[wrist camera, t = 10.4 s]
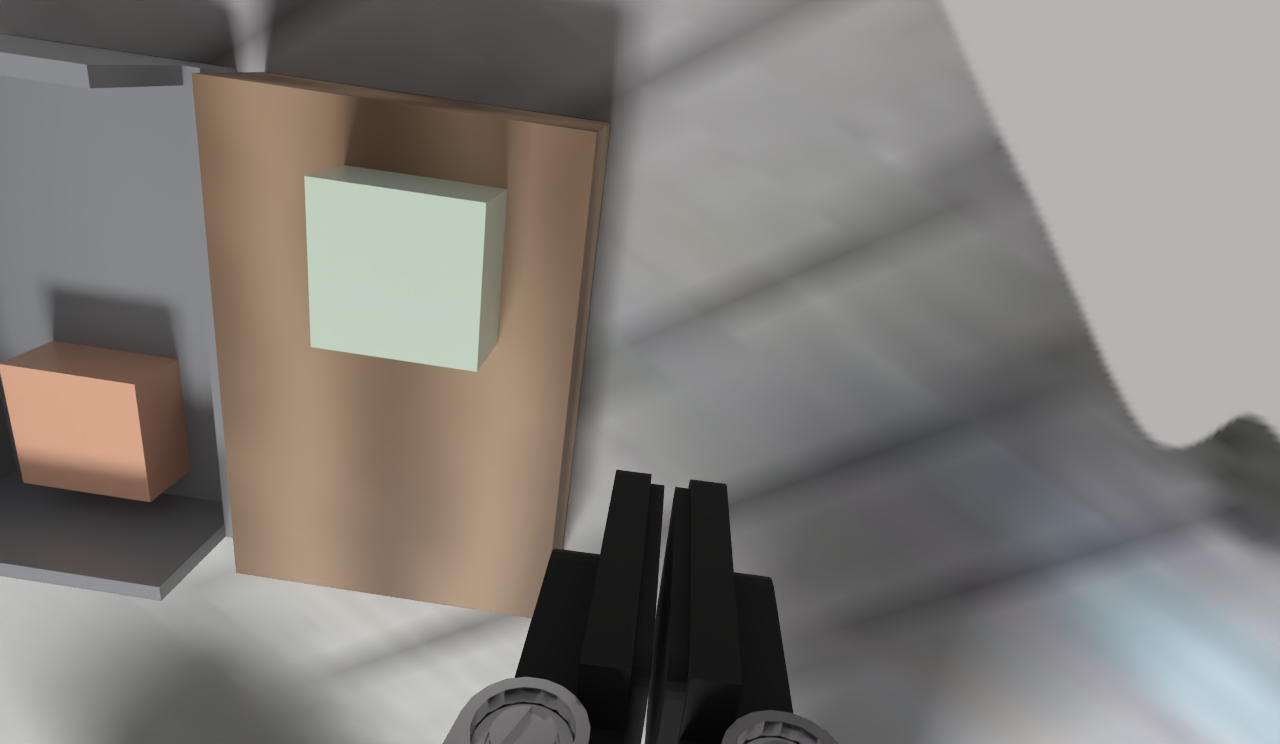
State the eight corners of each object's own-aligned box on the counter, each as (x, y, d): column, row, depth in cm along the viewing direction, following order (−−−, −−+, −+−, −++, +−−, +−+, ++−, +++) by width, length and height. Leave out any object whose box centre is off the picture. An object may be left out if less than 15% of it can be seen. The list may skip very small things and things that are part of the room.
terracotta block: (-2, 363, 27) (53, 340, 29) (23, 482, 29) (72, 451, 31) (134, 384, 27) (178, 359, 29) (150, 502, 29) (190, 470, 31)
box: (235, 68, 26) (108, 68, 20) (265, 511, 32) (177, 603, 27) (-79, 22, 26) (-293, 9, 20) (17, 473, 33) (-122, 557, 27)
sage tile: (507, 188, 23) (486, 203, 20) (497, 343, 24) (477, 372, 22) (344, 165, 23) (304, 175, 20) (347, 320, 24) (310, 346, 22)
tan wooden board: (610, 123, 25) (596, 132, 22) (561, 557, 32) (544, 619, 29) (264, 72, 26) (191, 72, 22) (288, 515, 32) (236, 572, 29)
